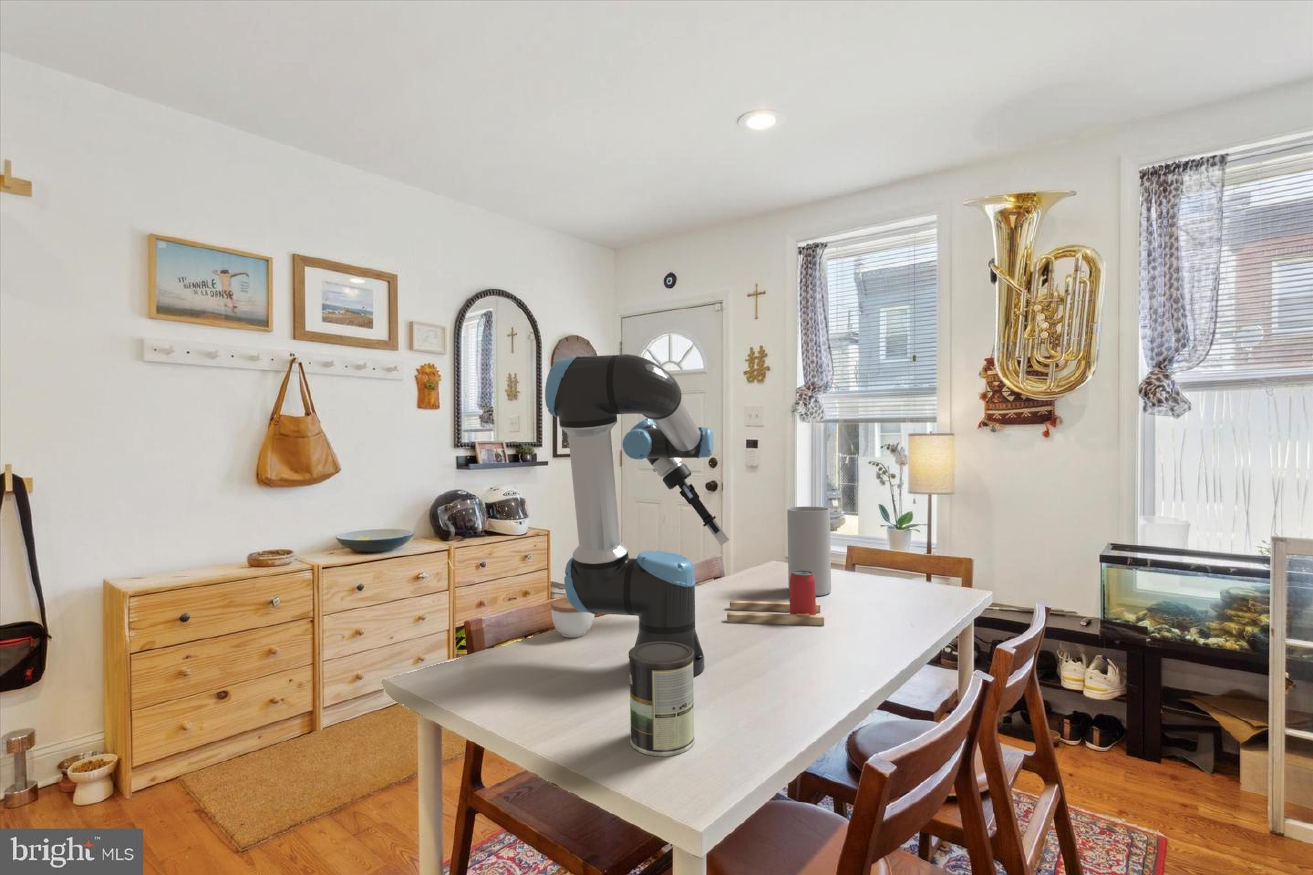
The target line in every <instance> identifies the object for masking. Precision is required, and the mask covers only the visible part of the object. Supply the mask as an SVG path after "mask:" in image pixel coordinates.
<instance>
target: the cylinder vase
mask: <svg viewBox="0 0 1313 875" xmlns="http://www.w3.org/2000/svg"><path fill="white" fill-rule="evenodd" d="M786 511H787V512H786V514H787V516H786V517H787V518H786V519H787V573H788V574H787V576H788V577H787V578H788V583H787V585H788V591H789V592H790V589H789V581H790V577H791V572H792V571H796V570H805V571H811V572H813V576H814V578H815V590H816V597H822V596H823V597H824V596H826V595H829V594H830V593H831V591H832V565H831V564H832V562H831V556H832V555H831V554H832V553H831V508H828V507H824V506H792V507H787V509H786Z"/></svg>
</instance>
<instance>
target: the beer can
mask: <svg viewBox="0 0 1313 875" xmlns="http://www.w3.org/2000/svg"><path fill="white" fill-rule="evenodd" d="M789 589H790V591H789V602H790V612H789V614H797V613H809V615H817V614H816V603H817V602H816V597H817V596H816V590H815V578H814V576H813V572H811V571H805V570H796V571H792V572H791V577H790V581H789V587H788V590H789Z"/></svg>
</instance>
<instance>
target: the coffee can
mask: <svg viewBox="0 0 1313 875" xmlns="http://www.w3.org/2000/svg"><path fill="white" fill-rule="evenodd" d="M634 646H635V645H634ZM634 646H633V647H631V648H630V649H629V651H628V661H629V663H628V664H629V707H630V708H629V709H630V710H629V711H630V713H629V715H630V719H629V720H630V724H629V725H630V738H629V739H630V740H629V741H630V745H631V747H632V748H633V749H634V750H636V751H637V752H639V753H640V754H644V755H646V756H652V757H671V756H677V755H681V754H683V753H685V752H687V751H689V750H690V749H691V748H692V747H693V746H694V744H695V743H696V742H695V741H696V738H695V705H694V704H695V701H694V700H695V698H694V696H695V695H694V693H695V692H694V691H695V690H694V689H695V688H694V686H695V685H694V684H695V683H694V677H693V658H694V651H693V649H692V648H691V647H689V646H687V645H685V644H682V643H677V642H670V641H655V642H647V643H643V644H640V645H637V646H635V647H634Z"/></svg>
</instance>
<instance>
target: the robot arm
mask: <svg viewBox="0 0 1313 875" xmlns="http://www.w3.org/2000/svg"><path fill="white" fill-rule="evenodd" d="M544 398H545V399H544V400H545V406H546V408H547V411H548V413H549V415H551V416H553V417H555V418H558V422H559V428H560V429H562V430H563V431H564V432H565V433H566V434H567V436H568V445H569V446H568V447H569V448H568V449H569V455H570V456H569V457H570V458H569V459H570V465H571V466H570V468H571V477H572V488H573V497H574V498H573V499H574V509H575V518H576V528H577V529H576V530H577V538H578V546H577V547H576V548H575V549H574V551H572V556H571V558H569V560H568V561H567V563H566V565H565V570H564V574H565V576H564V579H563V580H564V581H563V582H564V590H565V594H566V597H567V598H568V600H569V602H570V604H571V605H572V607H573V608H575V609H576V610H577V611H580V612H588V613H591V614H595V615H598V614H599V615H614V616H615V615H616V616H617V615H618V616H619V615H620V616H637V617H638V632H637V636H636V640H635V643H634V646H633V647H635V646H637V645H640V644H643V643H647V642H655V641H670V642H677V643H682V644H685V645H687V646H689V647H691V648H692V649H693V651H694V658H693V678H694V677H696V676H699V675H700V674H701V673H702V672H703V671H704V670H705V656H704V652H703V649H702V645H701V643H700V640H699V639H700V638H699V637H698V633H697V631H696V597H695V596H696V592H695V591H696V586H695V585H696V579H695V570H694V569H695V568H694V564H693V562H692V560H690V559H689V558H687V557H686V556H684V555H682V554H678V553H675V552H670V551H661V550H655V551H654V550H646V551H641V552H639V553H638V555H637V556H636V558H632V557H631V558H630V557H629V549H628V546H627V545H626V544H625V543H623V542H622V541H621V538H620V526H619V516H618V513H619V512H618V502H617V492H616V491H617V489H616V480H615V466H614V456H613V444H612V433H611V432H612V430H613V428H614V427H615V426H616V424H618V415H634V414H635V415H642V416H644V417H645V418H644V419H642V420H641V421H639V422H638V423H637V424H635V425H634V426H633V427H632V428H631V429H630V431H629V432H627V433H626V434H625V435H624V437H623V440H622V445H621V446H622V449H623V452H624V454H625V455H626V456H627V457H628V458H630V459H633V460H643V459H647V461H648V463H649V464H650V465H651V466H652V471H653V473H657V474H658V476H659V477H661V478H662V482H663V483H664V484H665V486H666V487H667V489H668V490H673V489H674V488H676V487H677V486H678V487H679V489H680V491H679V494H680V495H681V496H682V498H684V499H685V501H686V502H687V504H688V505H691V506H692V508H693V509H694V511H695V512H696V513H697V515H698V516H699V517H700V518H701V520H702V523H704V524H702V526H703V527H704V528H705V527H706V528H708V530H709V531H710V533H711V534H712V535H713V537H714V538H715V539H716V541H717V543H718V544H719V545H720V546H723V545H724V544H726V543H727V542H728V541H729V540H730V538H729V537H728V536H727V534H726V533H725V531H724V530H723V529H722V527H721V526H720V525H719V524H718V522H717V520H716V518H717V517H716V515H714V516H713V515H712V514H711V513H710V511H709V510H708V509H707V507H706V506H705V505H704V503H703V502H702V500H701V499H700V495H699V494H698V492H697V491H696V490H695V489H696V488H695V486H693V484H692V483H689V484H688V483H687V481H686V480H687V479H689V477H691V476H692V471H691V470H690V469H689V467H688V465H686V463H683V459H701V458H710V457H711V456H713V452H714V434H713V430H712V429H711V428H710V427H702V426H699V427H698V426H697V423H696V422H695V421H694V418H693V417H692V415H691V414H690V412H689V410H688V409H687V407H686V405H685V403H684V401H683V400H682V398H683V397H682V389H681V386H680V385H679V383H678V382H677V380H676V379H675V377H674V376H673V375H672V374H671V373H670V372H668V371H667V370H666V369H664V367H662V366H661V365H659V364H657V363H655V362H653V361H652V360H651V359H647V358H645V357H642V356H638V355H635V354H629V353H622V354H608V355H605V354H604V355H584V356H583V355H582V356H581V355H576V356H571V357H570V356H569V357H565V358H559V359H558V360H556V361H555V362H554V363H553V365H552V366H551V367H550V369H549V372H548V374H547V378H546V382H545V387H544Z"/></svg>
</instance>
